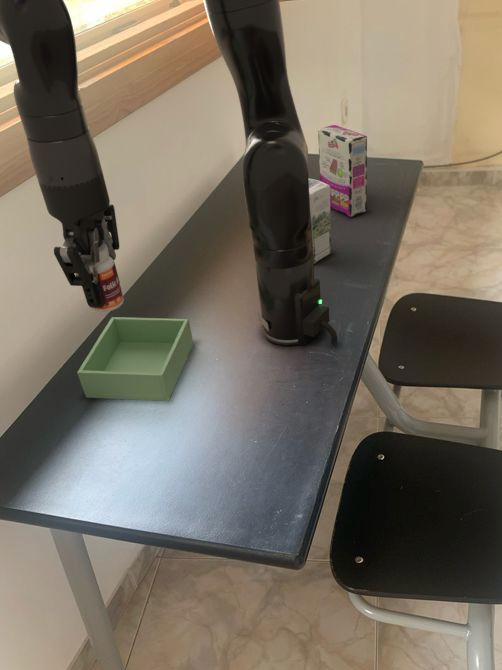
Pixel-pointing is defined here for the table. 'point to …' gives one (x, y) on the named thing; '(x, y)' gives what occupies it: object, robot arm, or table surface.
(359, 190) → the candy bar box
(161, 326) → the basket
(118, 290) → the pill bottle
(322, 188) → the syrup box
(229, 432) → the table surface
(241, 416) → the table surface
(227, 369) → the table surface
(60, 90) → the robot arm
